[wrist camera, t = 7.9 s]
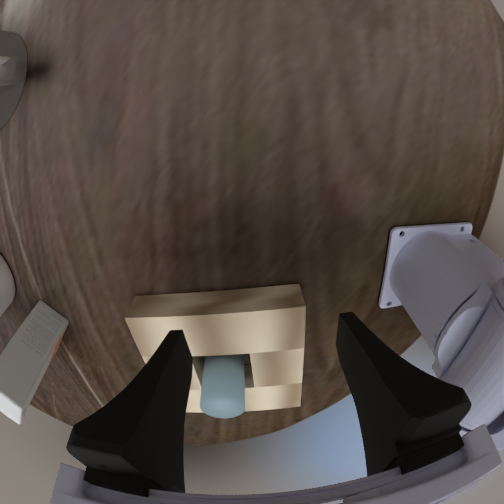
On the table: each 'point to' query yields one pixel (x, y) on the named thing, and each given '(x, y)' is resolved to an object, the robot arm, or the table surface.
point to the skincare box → (29, 359)
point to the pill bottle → (6, 286)
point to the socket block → (232, 337)
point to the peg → (223, 386)
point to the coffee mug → (11, 73)
